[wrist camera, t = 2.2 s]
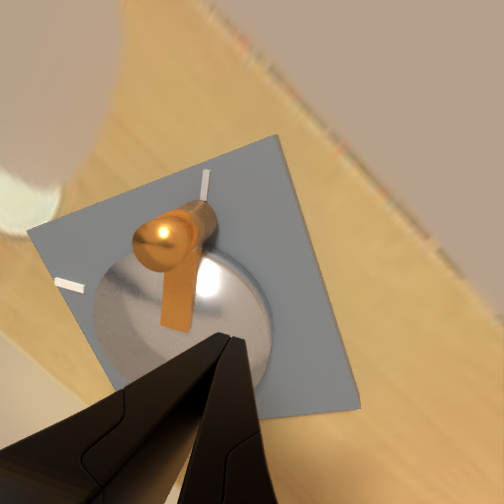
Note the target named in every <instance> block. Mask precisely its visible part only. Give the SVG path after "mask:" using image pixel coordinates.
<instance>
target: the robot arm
mask: <svg viewBox="0 0 504 504" xmlns="http://www.w3.org/2000/svg"><path fill="white" fill-rule="evenodd" d="M193 444H194V446H193ZM192 446H193V449H192V453H191V456H190V460H189V463H188V467H187V470H186V474H185V477H184V481H183V485H182V488H181V492H180V495H179V499H178V502H177V504H278V501H277V498H276V494H275V491H274V487H273V484H272V480H271V477H270V473H269V469H268V465H267V460H266V455H265V450H264V445H263V439H262V434H261V428H260V422H259V416H258V411H257V405H256V399H255V393H254V387H253V381H252V375H251V369H250V363H249V357H248V352H247V346H246V341H245V339H242V338H239V337H235V336H232V337H231V336H230V335H228V334H224V333H221V332H216V333H214V334H213V335H211V336H209V337H208V338H206V339H204V340H202V341H201V342H199V343H197V344H196V345H194V346H192V347H191V348H189V349H187V350H186V351H184V352H182V353H180V354H179V355H177V356H175V357H174V358H172V359H170V360H169V361H167V362H165V363H164V364H162V365H160V366H159V367H157V368H155V369H153V370H152V371H150V372H148V373H147V374H145V375H143V376H142V377H140V378H138V379H137V380H135V381H133V382H131V383H130V384H128V385H126V386H125V387H124V388H123V389H119V390H118V391H116V392H114V393H113V394H111V395H109V396H108V397H106V398H104V399H102V400H100V401H99V402H97V403H95V404H93V405H91V406H90V407H88V408H86V409H84V410H82V411H80V412H78V413H76V414H74V415H72V416H70V417H68V418H66V419H64V420H62V421H60V422H58V423H56V424H54V425H51V426H49V427H47V428H45V429H43V430H41V431H39V432H37V433H35V434H33V435H31V436H28V437H26V438H24V439H22V440H20V441H18V442H16V443H14V444H12V445H9V446H7V447H5V448H3V449H1V450H0V504H164V503H165V501H166V499H167V497H168V495H169V493H170V491H171V489H172V487H173V485H174V483H175V481H176V479H177V477H178V475H179V473H180V471H181V469H182V467H183V465H184V463H185V461H186V459H187V457H188V455H189V453H190V451H191V448H192Z"/></svg>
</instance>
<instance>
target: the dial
mask: <svg viewBox="0 0 504 504" xmlns="http://www.w3.org/2000/svg"><path fill="white" fill-rule="evenodd" d="M216 227H217V216H216V213H215V211H214V210H213V208H212V207H211V206H210V205H209V204H207V203H206V202H204V201H201V200H192V201H189V202H187V203H185V204H183V205H181V206H179V207H177V208H175V209H173V210H171V211H169V212H167V213H165V214H163V215H161V216H159V217H157V218H155V219H153V220H151V221H149V222H147V223H145V224H143V225H141V226H140V227H139V228H137V230H136V231H135V233H134V235H133V238H132V247H133V251H134V252H132V253H131V254H129V255H127V256H126V257H124V258H122V259H121V260H119V261H118V262H116V263H115V264H114V265H113V266H112V267H111V268H109V270H108V271H107V272H106V273H105V274H104V276H103V277H102V279H101V281H100V283H99V284H98V287H97V290H96V292H95V296H94V301H93V323H94V327H95V332H96V335H97V338H98V341H99V343H100V345H101V347H102V350H103V352H104V353H105V355H106V357H107V358H108V360H109V361H110V363H111V364H112V365H113V367H114V368H115V369H116V370H117V371H118V372H119V374H120V375H121V376H122V377H123V378H124V379H125V380H127V381H128V382H129V383H131V382H133V381H135V380H137V379H138V378H140V377H142V376H143V375H145V374H147V373H148V372H150V371H152V370H153V369H155V368H157V367H159V366H160V365H162V364H164V363H165V362H167V361H169V360H170V359H172V358H174V357H175V356H177V355H179V354H180V353H182V352H184V351H186V350H187V349H189V348H191V347H192V346H194V345H196V344H197V343H199V342H201V341H202V340H204V339H206V338H208V337H209V336H211V335H213V334H214V333H216V332H221V333H224V334H228V335H230V336H231V337H232V336H235V337H239V338H242V339H245V341H246V346H247V352H248V357H249V363H250V369H251V375H252V381H253V387H254V388H255V387H256V385H257V384H258V383H259V382H260V380H261V378H262V376H263V374H264V372H265V369H266V366H267V362H268V358H269V354H270V351H271V347H272V342H273V336H274V322H273V315H272V311H271V308H270V304H269V301H268V299H267V297H266V295H265V293H264V291H263V289H262V288H261V286H260V284H259V283H258V281H257V280H256V279H255V278H254V276H253V275H252V274H251V273H250V272H249V271H248V270H247V269H246V268H245V267H244V266H243V265H242V264H241V263H240V262H239V261H237V260H236V259H235V258H234V257H232V256H231V255H229V254H227V253H226V252H224V251H222V250H221V249H218V248H216V247H214V246H212V245H210V244H206V243H203V242H204V241H205V240H206V239H207V238H209V237H210V236H211V235H212V234H213V233H214V231H215V229H216Z"/></svg>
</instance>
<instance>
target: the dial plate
mask: <svg viewBox="0 0 504 504" xmlns="http://www.w3.org/2000/svg"><path fill="white" fill-rule="evenodd" d="M192 200H201V201H204V202H206V203H207V204H209V205H210V206H211V207H212V208H213V210H214V211H215V213H216V216H217V227H216V229H215V231H214V233H213V234H212V235H211V236H210V237H209V238H207V239H206V240H205V241H204V242H203V243H206V244H210V245H212V246H214V247H216V248H218V249H221V250H222V251H224V252H226V253H227V254H229V255H231V256H232V257H234V258H235V259H236V260H237V261H239V262H240V263H241V264H242V265H243V266H244V267H245V268H246V269H247V270H248V271H249V272H250V273H251V274H252V275H253V276H254V278H255V279H256V280H257V281H258V283H259V284H260V286H261V288H262V289H263V291H264V293H265V295H266V297H267V299H268V301H269V304H270V308H271V311H272V315H273V322H274V336H273V342H272V347H271V351H270V354H269V358H268V362H267V366H266V369H265V372H264V374H263V376H262V378H261V380H260V382H259V383H258V384H257V385H256V387H255V388H254V393H255V399H256V405H257V411H258V416H259V420H260V419H269V418H279V417H289V416H298V415H308V414H317V413H327V412H337V411H346V410H356V409H361V404H360V397H359V391H358V388H357V385H356V382H355V379H354V375H353V372H352V369H351V366H350V363H349V359H348V356H347V353H346V350H345V347H344V344H343V340H342V337H341V334H340V331H339V328H338V325H337V321H336V318H335V315H334V312H333V309H332V305H331V302H330V299H329V296H328V293H327V290H326V286H325V283H324V280H323V277H322V274H321V271H320V267H319V264H318V261H317V258H316V255H315V251H314V248H313V245H312V242H311V239H310V236H309V232H308V229H307V226H306V223H305V220H304V216H303V213H302V210H301V207H300V204H299V201H298V197H297V194H296V191H295V188H294V185H293V182H292V178H291V175H290V172H289V169H288V166H287V162H286V159H285V156H284V153H283V150H282V147H281V143H280V140H279V137H278V135H272V136H269V137H267V138H264V139H262V140H259V141H257V142H254V143H251V144H249V145H246V146H244V147H241V148H238V149H236V150H233V151H231V152H228V153H226V154H223V155H220V156H218V157H215V158H213V159H210V160H207V161H205V162H202V163H200V164H197V165H195V166H192V167H189V168H187V169H184V170H182V171H179V172H176V173H174V174H171V175H169V176H166V177H164V178H161V179H158V180H156V181H153V182H151V183H148V184H145V185H143V186H140V187H138V188H135V189H133V190H130V191H127V192H125V193H122V194H120V195H117V196H114V197H112V198H109V199H107V200H104V201H102V202H99V203H96V204H94V205H91V206H89V207H86V208H83V209H81V210H78V211H76V212H73V213H71V214H68V215H65V216H63V217H60V218H58V219H55V220H52V221H50V222H47V223H45V224H42V225H40V226H37V227H34V228H32V229H29V230H27V233H28V235H29V237H30V239H31V240H32V242H33V244H34V246H35V248H36V249H37V251H38V253H39V255H40V256H41V258H42V260H43V262H44V264H45V265H46V267H47V269H48V271H49V273H50V274H51V276H52V278H53V280H54V282H55V286H57V287H58V289H59V291H60V292H61V294H62V296H63V298H64V300H65V301H66V303H67V305H68V307H69V309H70V310H71V312H72V314H73V316H74V317H75V319H76V321H77V323H78V325H79V326H80V328H81V330H82V332H83V334H84V335H85V337H86V339H87V341H88V343H89V344H90V346H91V348H92V350H93V352H94V353H95V355H96V357H97V359H98V361H99V362H100V364H101V366H102V368H103V369H104V371H105V373H106V375H107V377H108V378H109V380H110V382H111V384H112V386H113V387H114V389H115V391H118V390H119V389H123V388H124V387H125V386H126V385H128V384H130V383H129V382H128V381H127V380H125V379H124V378H123V377H122V376H121V375H120V374H119V372H118V371H117V370H116V369H115V368H114V367H113V365H112V364H111V363H110V361H109V360H108V358H107V357H106V355H105V353H104V352H103V350H102V347H101V345H100V343H99V341H98V338H97V335H96V332H95V327H94V323H93V301H94V296H95V292H96V290H97V287H98V284H99V283H100V281H101V279H102V277H103V276H104V274H105V273H106V272H107V271H108V270H109V268H111V267H112V266H113V265H114V264H115V263H116V262H118V261H119V260H121V259H122V258H124V257H126V256H127V255H129V254H131V253H132V252H134V251H133V247H132V238H133V235H134V233H135V231H136V230H137V228H139V227H140V226H141V225H143V224H145V223H147V222H149V221H151V220H153V219H155V218H157V217H159V216H161V215H163V214H165V213H167V212H169V211H171V210H173V209H175V208H177V207H179V206H181V205H183V204H185V203H187V202H189V201H192Z"/></svg>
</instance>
